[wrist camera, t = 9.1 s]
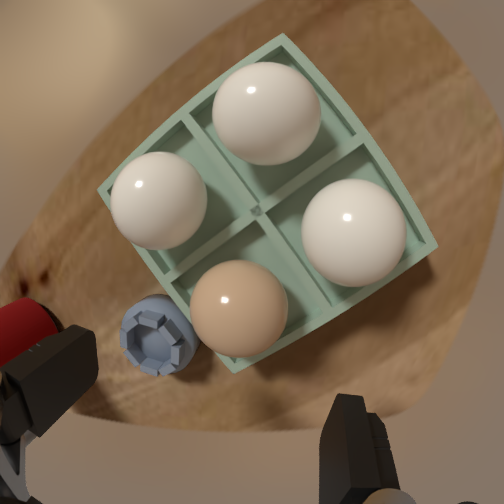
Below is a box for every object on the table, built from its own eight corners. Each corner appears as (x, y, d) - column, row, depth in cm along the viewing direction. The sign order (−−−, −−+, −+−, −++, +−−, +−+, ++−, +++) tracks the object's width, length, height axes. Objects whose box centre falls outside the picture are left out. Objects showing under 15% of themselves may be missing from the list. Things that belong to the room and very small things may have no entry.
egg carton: (243, 348, 19) (233, 374, 16) (124, 187, 18) (96, 189, 15) (418, 235, 16) (438, 246, 13) (286, 54, 15) (283, 32, 12)
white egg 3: (334, 286, 15) (343, 325, 11) (283, 213, 15) (273, 226, 10) (406, 237, 14) (441, 258, 10) (358, 160, 14) (379, 152, 9)
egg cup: (165, 371, 21) (149, 391, 18) (120, 316, 20) (100, 331, 18) (216, 342, 19) (204, 363, 17) (167, 279, 19) (148, 293, 16)
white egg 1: (172, 256, 16) (130, 281, 12) (127, 191, 16) (75, 197, 12) (236, 206, 15) (209, 216, 11) (185, 137, 15) (142, 124, 10)
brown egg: (240, 343, 17) (219, 391, 12) (190, 280, 16) (153, 313, 12) (308, 302, 15) (307, 347, 11) (256, 232, 15) (236, 253, 11)
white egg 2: (263, 186, 15) (245, 188, 10) (209, 117, 14) (174, 95, 10) (337, 133, 13) (350, 113, 9) (280, 64, 13) (270, 24, 9)
